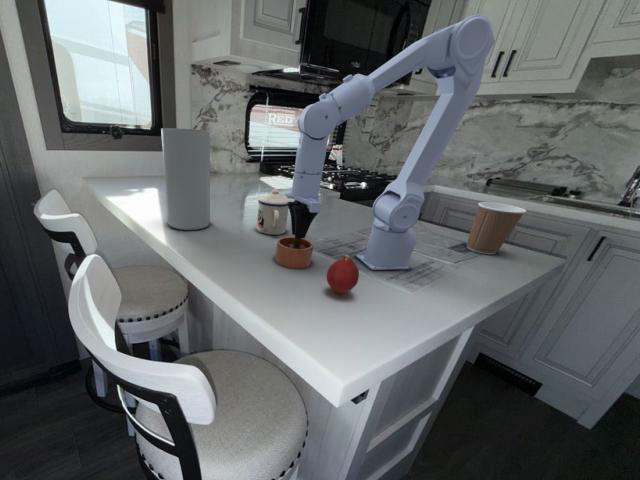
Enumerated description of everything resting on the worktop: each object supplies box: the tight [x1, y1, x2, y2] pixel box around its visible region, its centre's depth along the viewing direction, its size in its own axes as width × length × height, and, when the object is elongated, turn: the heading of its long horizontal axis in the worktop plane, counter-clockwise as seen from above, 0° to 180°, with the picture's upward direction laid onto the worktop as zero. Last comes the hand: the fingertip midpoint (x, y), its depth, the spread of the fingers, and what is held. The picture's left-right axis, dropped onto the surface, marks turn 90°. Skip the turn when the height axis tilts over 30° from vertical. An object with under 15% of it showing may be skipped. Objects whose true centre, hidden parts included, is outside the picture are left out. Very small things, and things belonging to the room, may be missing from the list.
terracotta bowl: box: [274, 236, 314, 269], centre depth 71 cm, size 8×8×4 cm
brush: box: [288, 238, 306, 249], centre depth 70 cm, size 4×2×8 cm, turn 99°
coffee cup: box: [466, 201, 527, 255], centre depth 83 cm, size 10×10×12 cm
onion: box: [326, 254, 360, 295], centre depth 58 cm, size 6×6×8 cm
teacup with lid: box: [256, 188, 291, 236], centre depth 87 cm, size 12×9×12 cm
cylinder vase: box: [160, 127, 211, 231], centre depth 86 cm, size 12×12×25 cm
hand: (298, 236), depth 70 cm, fingers closed on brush, 1 cm apart
